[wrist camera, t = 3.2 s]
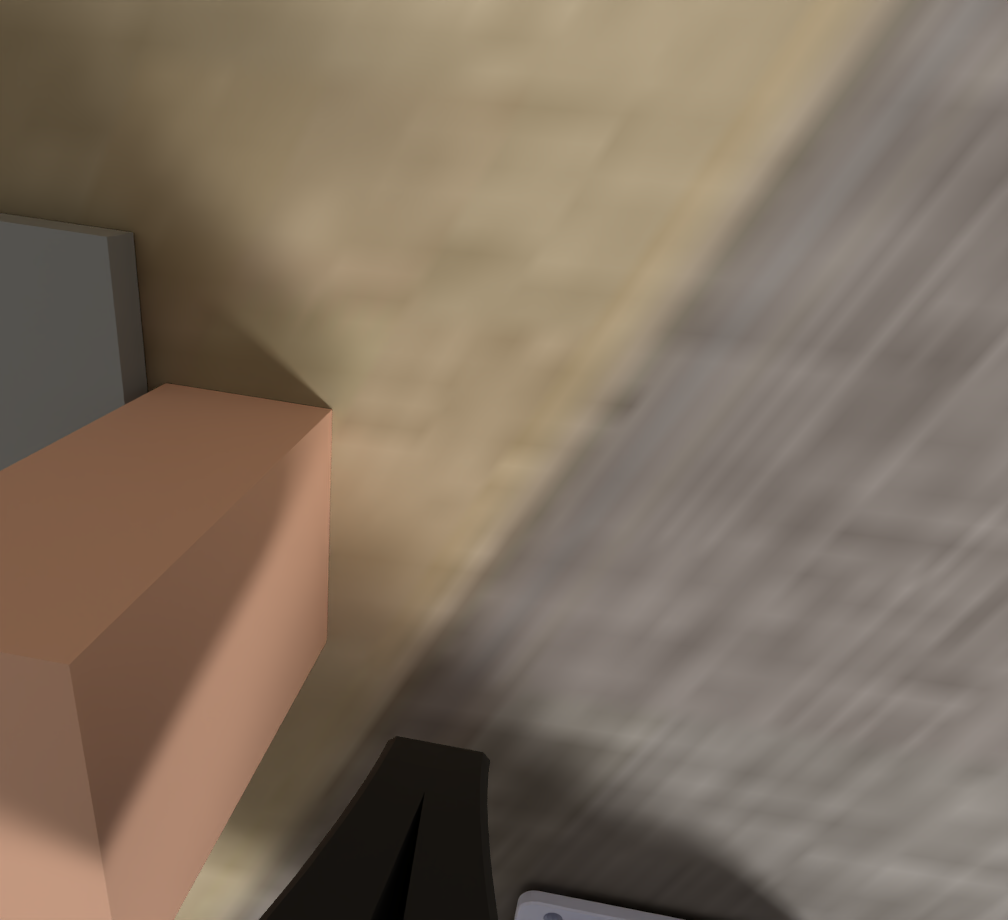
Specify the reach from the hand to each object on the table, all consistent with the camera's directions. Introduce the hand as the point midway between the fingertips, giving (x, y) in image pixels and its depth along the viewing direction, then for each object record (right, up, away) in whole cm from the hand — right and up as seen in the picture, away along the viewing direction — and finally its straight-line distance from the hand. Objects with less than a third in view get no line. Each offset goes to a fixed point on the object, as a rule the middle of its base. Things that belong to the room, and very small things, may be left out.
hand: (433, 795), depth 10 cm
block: (-5, +3, +6) cm, 8 cm away
